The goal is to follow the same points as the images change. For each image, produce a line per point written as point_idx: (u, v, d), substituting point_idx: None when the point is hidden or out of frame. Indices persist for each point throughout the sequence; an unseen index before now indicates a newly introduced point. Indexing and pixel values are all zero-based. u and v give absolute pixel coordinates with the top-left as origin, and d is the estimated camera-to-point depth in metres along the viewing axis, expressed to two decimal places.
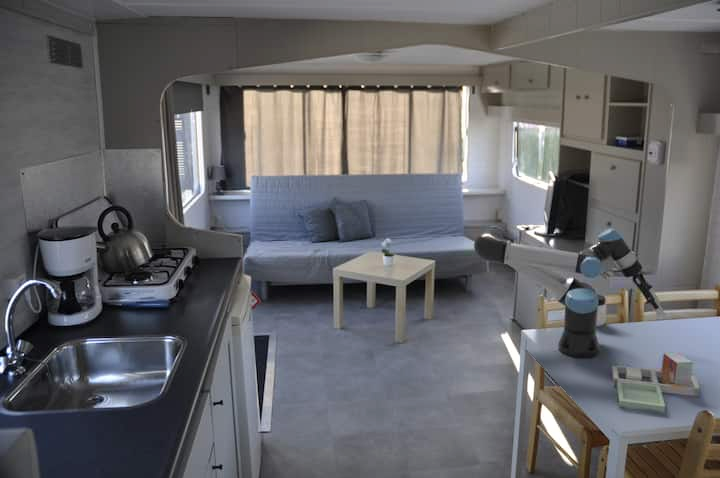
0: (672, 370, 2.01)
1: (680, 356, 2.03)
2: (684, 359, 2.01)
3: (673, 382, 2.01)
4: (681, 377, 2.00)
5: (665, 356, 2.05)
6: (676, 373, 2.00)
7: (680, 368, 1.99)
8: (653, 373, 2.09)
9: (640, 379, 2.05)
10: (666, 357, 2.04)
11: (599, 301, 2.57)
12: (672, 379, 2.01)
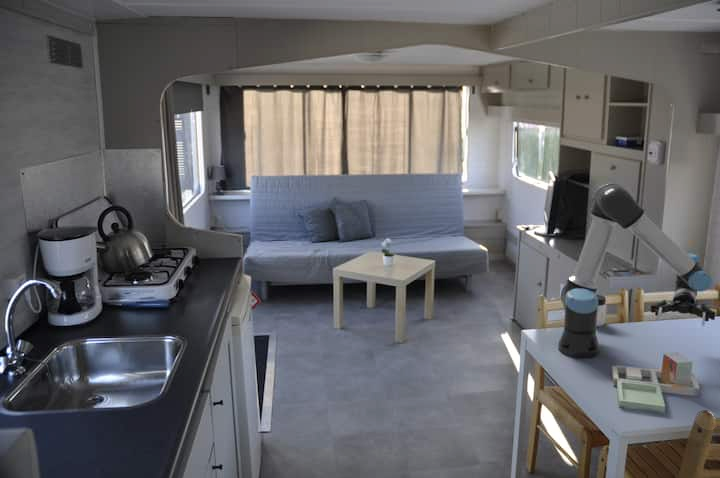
0: (672, 370, 2.01)
1: (680, 356, 2.03)
2: (684, 359, 2.01)
3: (673, 382, 2.01)
4: (681, 377, 2.00)
5: (665, 356, 2.05)
6: (676, 373, 2.00)
7: (680, 368, 1.99)
8: (653, 373, 2.09)
9: (640, 379, 2.05)
10: (666, 357, 2.04)
11: (599, 301, 2.57)
12: (672, 379, 2.01)
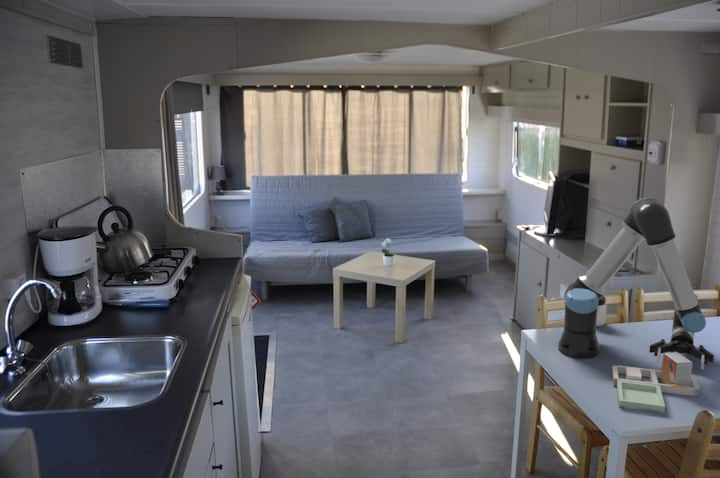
0: (672, 370, 2.01)
1: (680, 356, 2.03)
2: (684, 359, 2.01)
3: (673, 382, 2.01)
4: (681, 377, 2.00)
5: (665, 356, 2.05)
6: (676, 373, 2.00)
7: (680, 368, 1.99)
8: (653, 373, 2.09)
9: (640, 379, 2.05)
10: (666, 357, 2.04)
11: (599, 301, 2.57)
12: (672, 379, 2.01)
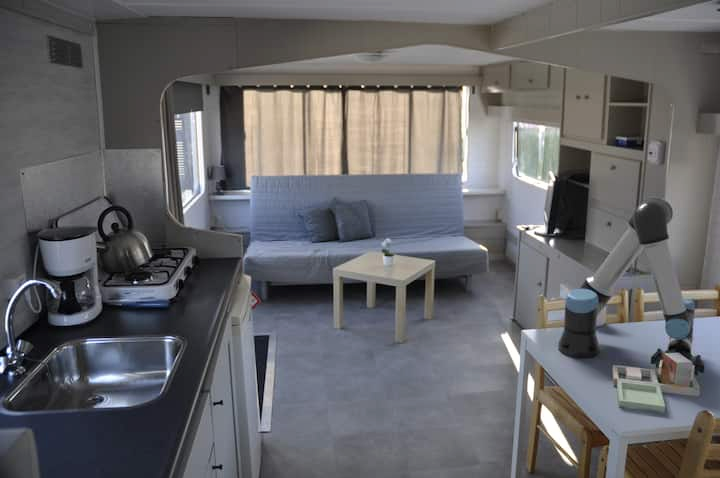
0: (672, 370, 2.01)
1: (680, 356, 2.03)
2: (684, 359, 2.01)
3: (673, 382, 2.01)
4: (680, 376, 2.00)
5: (665, 356, 2.05)
6: (676, 373, 2.00)
7: (680, 368, 1.99)
8: (653, 373, 2.09)
9: (640, 379, 2.05)
10: (666, 357, 2.04)
11: None
12: (672, 379, 2.02)
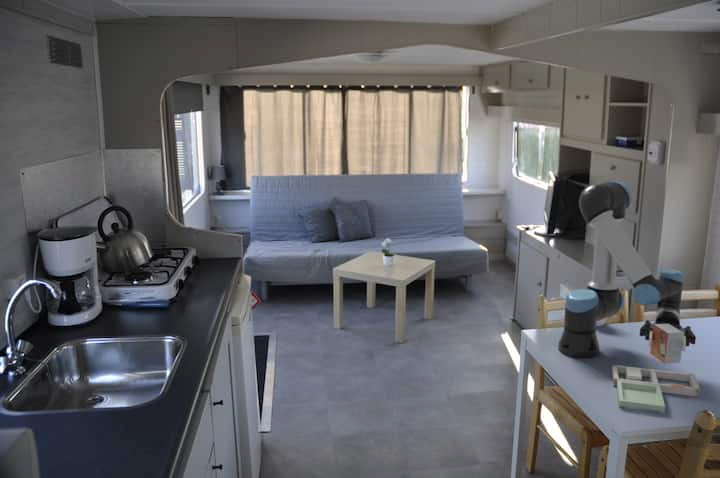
0: (663, 341, 1.91)
1: (670, 327, 1.93)
2: (675, 330, 1.91)
3: (664, 354, 1.91)
4: (672, 348, 1.90)
5: (655, 327, 1.95)
6: (667, 344, 1.89)
7: (671, 339, 1.89)
8: (653, 373, 2.09)
9: (640, 379, 2.05)
10: (656, 328, 1.94)
11: None
12: (663, 350, 1.91)
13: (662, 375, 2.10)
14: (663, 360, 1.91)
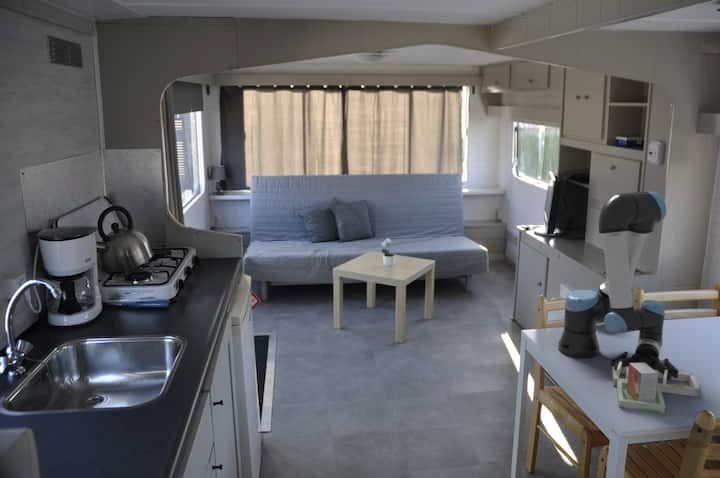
0: (637, 381, 1.92)
1: (646, 366, 1.94)
2: (649, 369, 1.92)
3: (638, 393, 1.92)
4: (645, 388, 1.91)
5: (630, 366, 1.96)
6: (640, 384, 1.91)
7: (645, 379, 1.90)
8: None
9: None
10: (631, 367, 1.95)
11: None
12: (637, 390, 1.93)
13: (662, 375, 2.10)
14: (637, 400, 1.93)
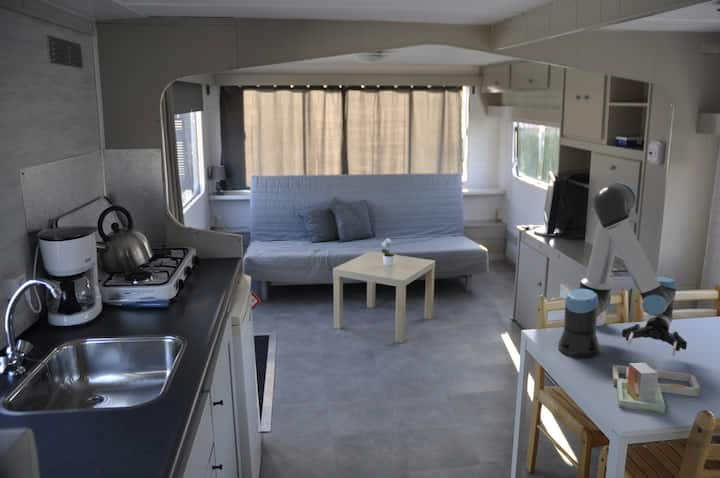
0: (637, 381, 1.92)
1: (646, 366, 1.94)
2: (649, 369, 1.92)
3: (638, 393, 1.92)
4: (645, 388, 1.91)
5: (630, 366, 1.96)
6: (640, 384, 1.91)
7: (645, 379, 1.90)
8: None
9: None
10: (631, 367, 1.95)
11: None
12: (637, 390, 1.93)
13: (662, 375, 2.10)
14: (637, 400, 1.93)
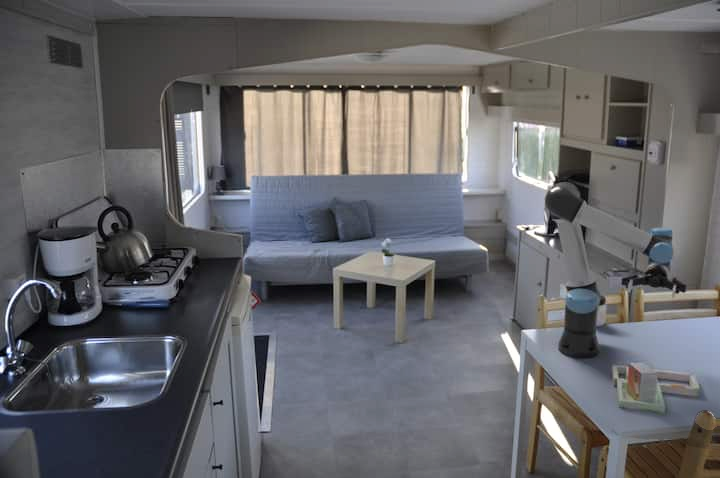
0: (637, 381, 1.92)
1: (646, 366, 1.94)
2: (649, 369, 1.92)
3: (638, 393, 1.92)
4: (645, 388, 1.91)
5: (630, 366, 1.96)
6: (640, 384, 1.91)
7: (645, 379, 1.90)
8: None
9: None
10: (631, 367, 1.95)
11: None
12: (637, 390, 1.93)
13: (662, 375, 2.10)
14: (637, 400, 1.93)
